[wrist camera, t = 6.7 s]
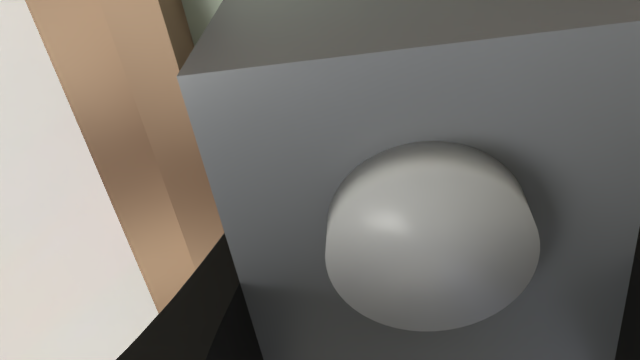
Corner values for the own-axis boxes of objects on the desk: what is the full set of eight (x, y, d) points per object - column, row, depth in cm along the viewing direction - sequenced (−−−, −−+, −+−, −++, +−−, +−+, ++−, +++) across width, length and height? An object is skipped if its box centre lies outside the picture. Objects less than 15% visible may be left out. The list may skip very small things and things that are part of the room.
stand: (665, 298, 17) (719, 392, 15) (201, 326, 19) (175, 415, 16) (812, -322, 10) (983, -359, 7) (13, -175, 11) (-91, -159, 9)
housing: (523, 302, 15) (598, 543, 10) (324, 314, 15) (308, 546, 11) (545, -87, 10) (710, 39, 5) (249, -44, 10) (161, 101, 6)
